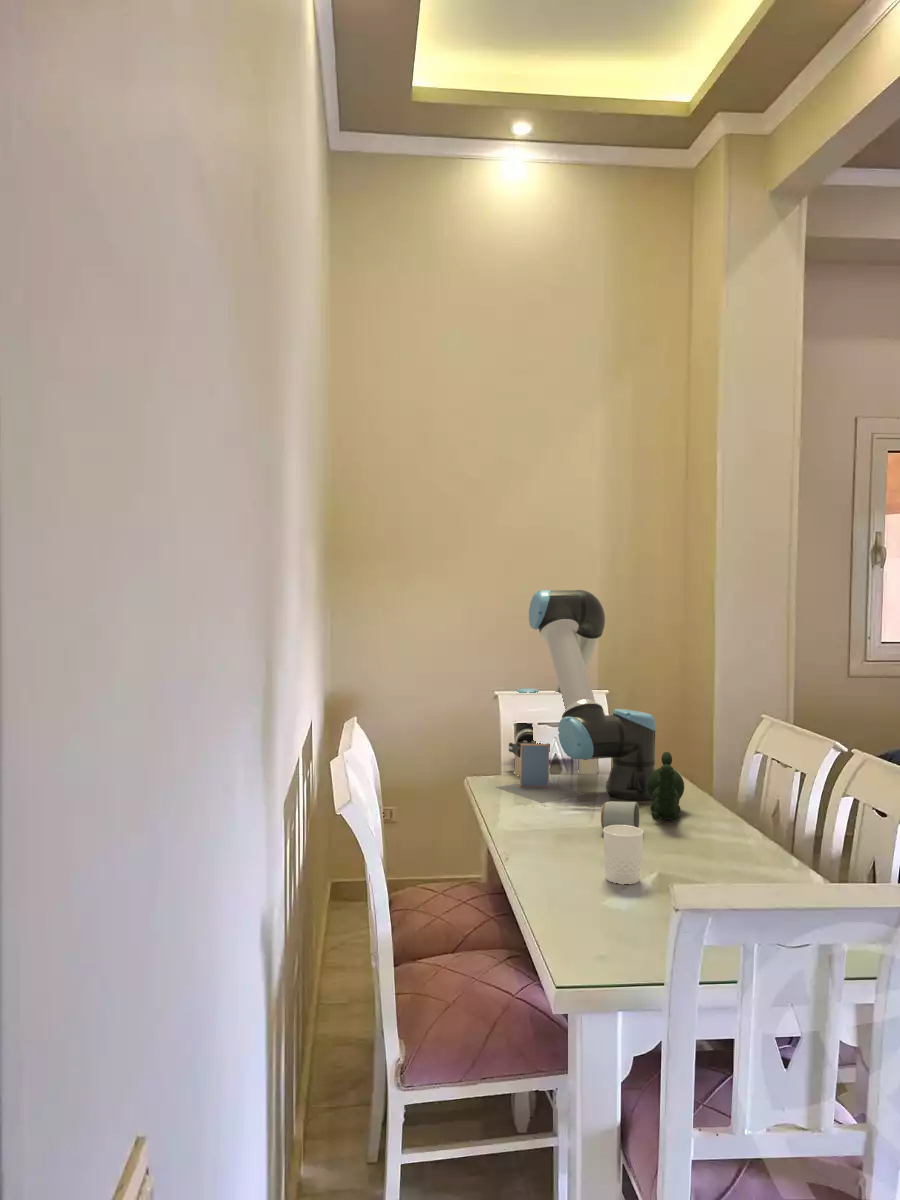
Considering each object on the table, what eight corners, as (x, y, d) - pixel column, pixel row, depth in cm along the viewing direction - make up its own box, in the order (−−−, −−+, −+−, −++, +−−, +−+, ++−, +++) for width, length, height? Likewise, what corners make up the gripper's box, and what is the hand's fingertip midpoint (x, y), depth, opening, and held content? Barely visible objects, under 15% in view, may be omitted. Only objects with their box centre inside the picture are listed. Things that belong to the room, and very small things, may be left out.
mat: (586, 797, 246) (586, 794, 246) (541, 805, 237) (541, 802, 237) (539, 782, 262) (539, 780, 262) (495, 789, 253) (495, 787, 253)
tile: (520, 785, 256) (520, 743, 255) (548, 785, 255) (548, 743, 255) (520, 786, 254) (520, 744, 254) (548, 787, 254) (549, 745, 253)
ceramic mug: (605, 826, 218) (606, 795, 218) (639, 830, 215) (640, 798, 215) (596, 839, 208) (596, 806, 208) (632, 843, 205) (632, 810, 205)
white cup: (614, 870, 186) (615, 822, 186) (649, 878, 181) (650, 829, 181) (595, 879, 180) (596, 830, 180) (630, 889, 175) (631, 838, 175)
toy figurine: (685, 836, 216) (682, 801, 241) (687, 760, 214) (684, 732, 238) (645, 833, 218) (647, 798, 243) (647, 757, 216) (648, 730, 240)
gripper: (548, 755, 282) (554, 771, 258) (507, 754, 282) (509, 771, 259) (549, 731, 281) (555, 746, 258) (507, 730, 282) (509, 745, 258)
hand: (532, 758), depth 258 cm, fingers closed
